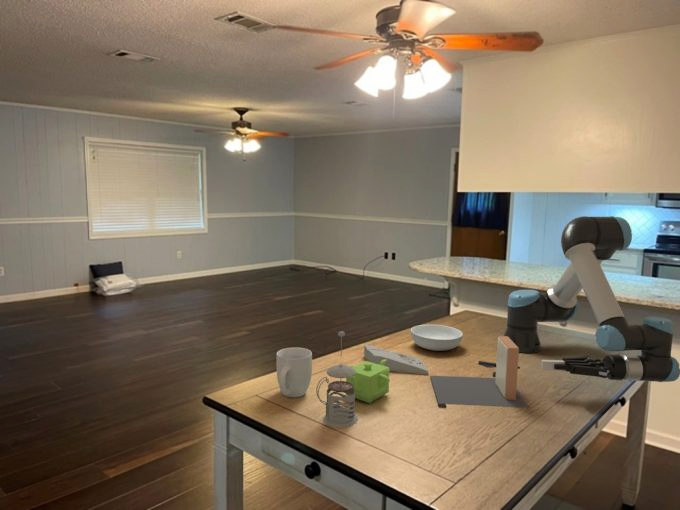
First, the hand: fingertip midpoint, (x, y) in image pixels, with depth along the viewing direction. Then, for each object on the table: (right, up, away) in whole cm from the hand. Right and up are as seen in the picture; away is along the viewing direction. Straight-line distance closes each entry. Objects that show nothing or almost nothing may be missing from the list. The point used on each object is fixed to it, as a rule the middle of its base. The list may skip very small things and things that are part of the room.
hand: (542, 364), depth 148 cm
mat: (-20, -10, +3) cm, 22 cm away
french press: (-63, -12, -16) cm, 66 cm away
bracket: (-7, -8, +21) cm, 24 cm away
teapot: (-54, -10, -1) cm, 55 cm away
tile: (-11, -9, +2) cm, 14 cm away
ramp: (-43, -7, +27) cm, 51 cm away
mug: (-77, -10, 0) cm, 77 cm away
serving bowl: (-23, -4, +48) cm, 53 cm away
